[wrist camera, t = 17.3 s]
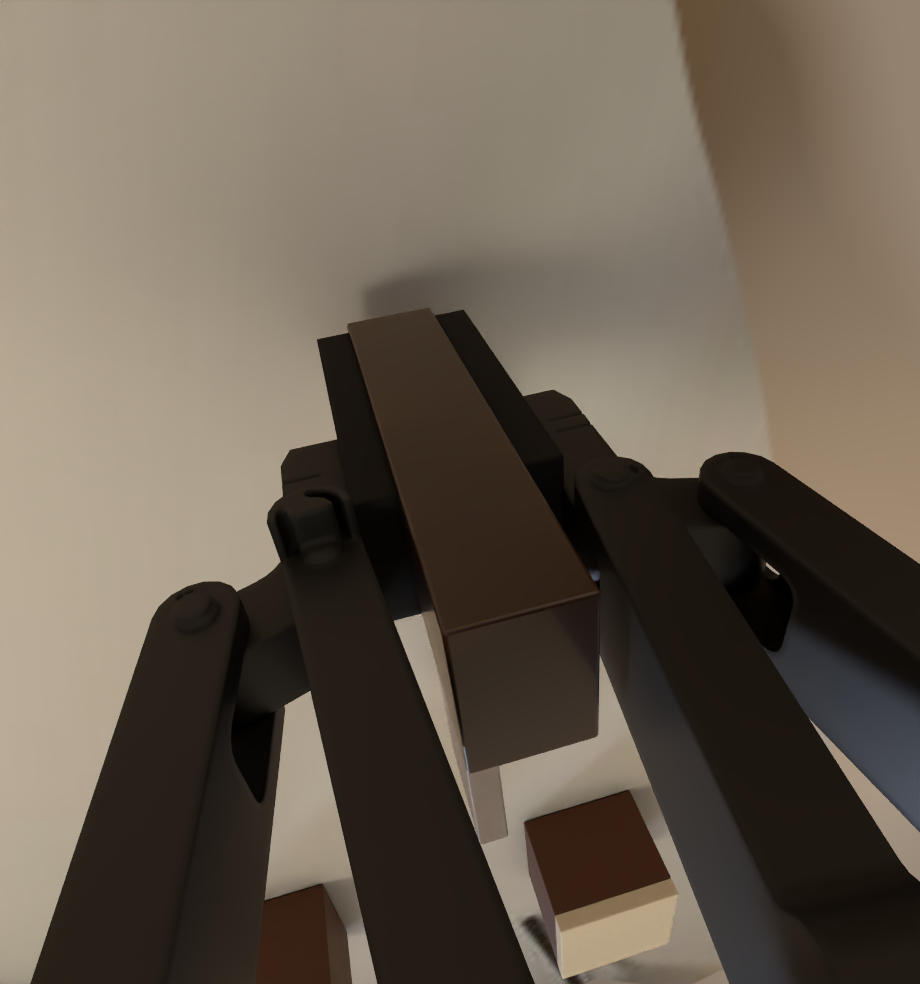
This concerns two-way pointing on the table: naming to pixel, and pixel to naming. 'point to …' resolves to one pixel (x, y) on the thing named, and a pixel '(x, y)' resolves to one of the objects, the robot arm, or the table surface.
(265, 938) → the cake slice
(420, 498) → the long brown beam
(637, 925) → the cake
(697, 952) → the table surface
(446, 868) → the robot arm
